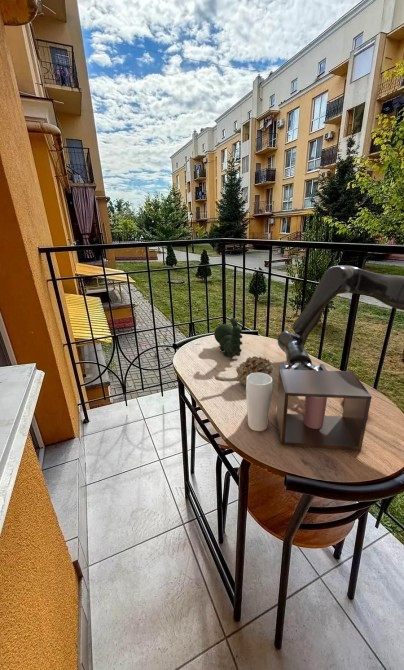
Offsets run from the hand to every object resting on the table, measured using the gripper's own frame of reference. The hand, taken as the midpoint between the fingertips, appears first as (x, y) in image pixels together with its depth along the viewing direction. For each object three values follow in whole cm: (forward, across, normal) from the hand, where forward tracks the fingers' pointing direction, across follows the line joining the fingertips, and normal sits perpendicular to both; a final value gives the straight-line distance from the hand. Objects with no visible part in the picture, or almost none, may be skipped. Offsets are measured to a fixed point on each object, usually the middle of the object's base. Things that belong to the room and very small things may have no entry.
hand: (307, 382), depth 84 cm
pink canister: (+10, 0, +7) cm, 12 cm away
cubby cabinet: (+13, 0, +8) cm, 15 cm away
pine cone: (-10, -19, +8) cm, 23 cm away
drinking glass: (+12, -15, +8) cm, 21 cm away
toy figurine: (-39, -26, +8) cm, 48 cm away
